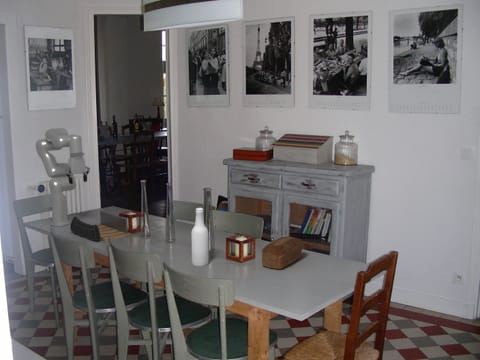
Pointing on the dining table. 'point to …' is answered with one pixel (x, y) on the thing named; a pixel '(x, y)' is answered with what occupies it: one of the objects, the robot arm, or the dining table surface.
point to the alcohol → (199, 240)
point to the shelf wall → (113, 221)
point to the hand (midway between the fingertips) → (78, 182)
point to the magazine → (85, 229)
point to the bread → (281, 252)
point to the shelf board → (110, 233)
